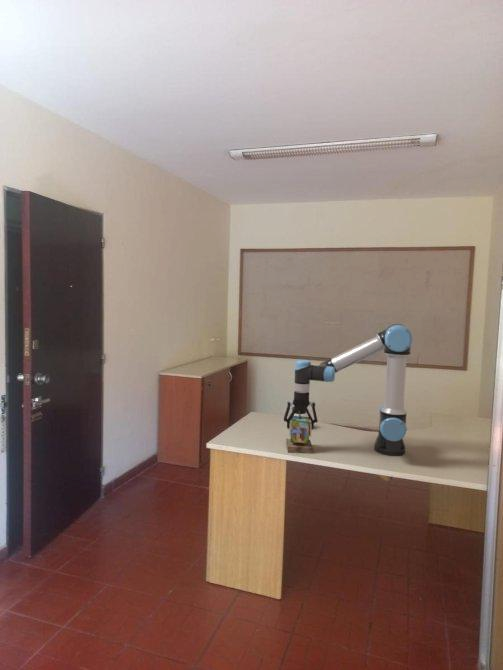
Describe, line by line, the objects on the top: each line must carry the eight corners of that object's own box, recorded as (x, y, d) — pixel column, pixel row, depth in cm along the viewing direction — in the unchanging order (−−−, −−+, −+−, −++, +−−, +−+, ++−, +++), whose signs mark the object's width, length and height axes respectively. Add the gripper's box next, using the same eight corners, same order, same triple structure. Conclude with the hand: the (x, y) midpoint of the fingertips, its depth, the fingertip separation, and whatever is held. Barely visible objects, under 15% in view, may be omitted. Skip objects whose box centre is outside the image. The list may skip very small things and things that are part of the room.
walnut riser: (309, 445, 237) (309, 439, 236) (312, 453, 225) (312, 447, 224) (286, 444, 237) (286, 438, 236) (288, 452, 225) (288, 446, 224)
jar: (296, 425, 272) (297, 405, 270) (308, 428, 266) (309, 407, 265) (288, 428, 265) (288, 407, 263) (300, 431, 260) (301, 410, 258)
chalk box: (308, 444, 225) (310, 414, 224) (289, 442, 226) (291, 413, 225) (309, 438, 234) (310, 410, 233) (291, 436, 236) (292, 408, 234)
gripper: (322, 390, 232) (320, 433, 234) (279, 388, 232) (277, 432, 234) (325, 393, 224) (323, 438, 226) (279, 392, 224) (278, 436, 226)
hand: (299, 435), depth 230 cm, fingers closed on chalk box, 9 cm apart
